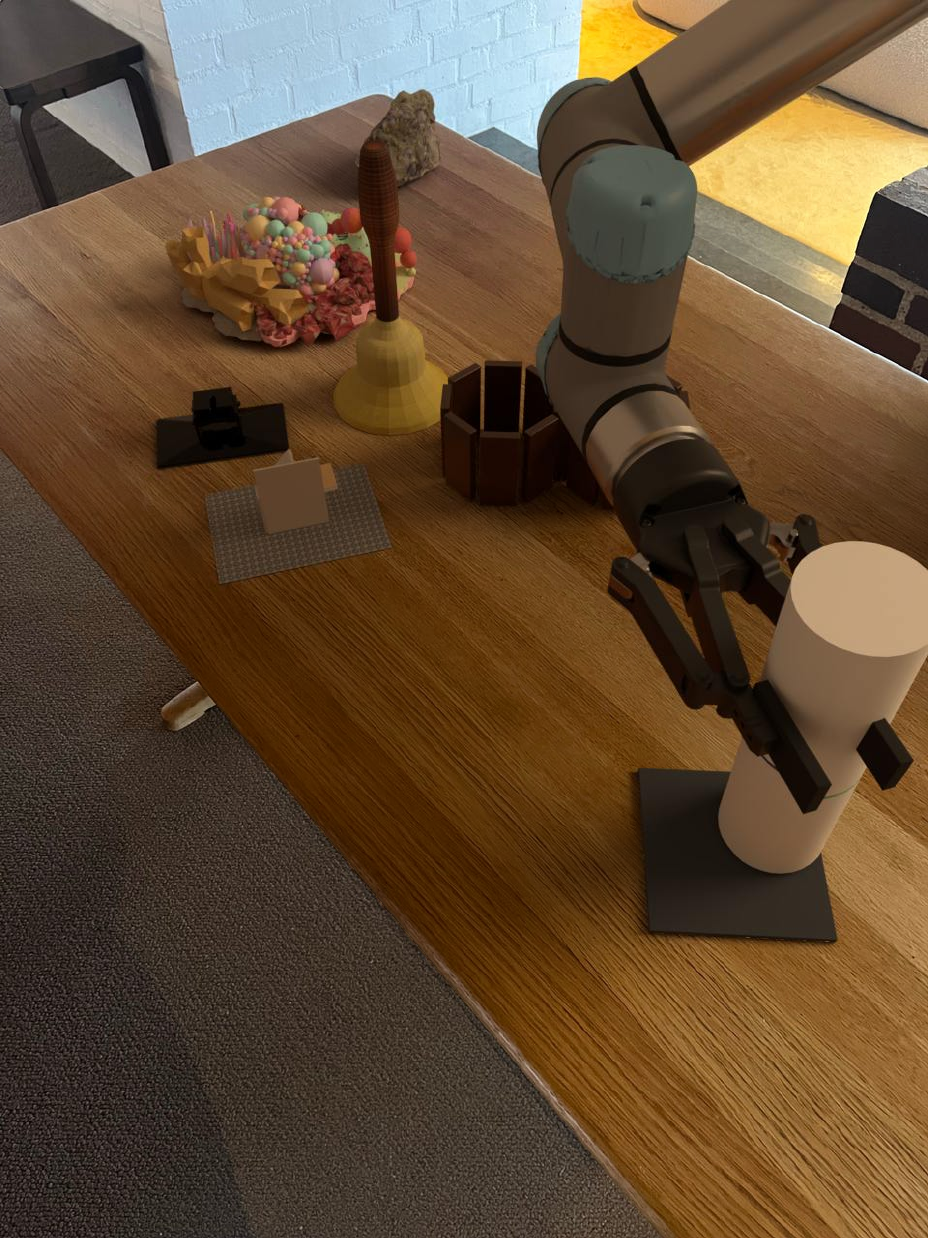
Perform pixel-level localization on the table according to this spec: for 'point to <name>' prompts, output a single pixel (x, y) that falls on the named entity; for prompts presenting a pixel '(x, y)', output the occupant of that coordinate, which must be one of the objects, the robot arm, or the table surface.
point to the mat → (718, 869)
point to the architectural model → (294, 519)
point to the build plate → (220, 430)
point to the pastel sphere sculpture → (284, 272)
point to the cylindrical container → (828, 692)
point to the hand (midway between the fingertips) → (857, 787)
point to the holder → (510, 437)
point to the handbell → (386, 324)
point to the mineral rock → (409, 135)
